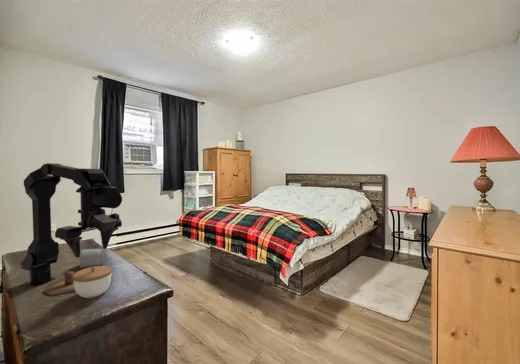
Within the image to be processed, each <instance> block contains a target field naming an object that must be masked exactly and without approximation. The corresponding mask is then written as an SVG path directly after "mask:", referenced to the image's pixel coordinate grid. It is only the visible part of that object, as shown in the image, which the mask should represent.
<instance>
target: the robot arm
mask: <svg viewBox="0 0 520 364" xmlns="http://www.w3.org/2000/svg"><path fill="white" fill-rule="evenodd" d="M62 178H63V179H67V180H71V181H73V183H74V184H75V185H78V186H80V187H79V188H76V190H75V192H76V193H80V209H77V213H78V214H80V221H79V222H77V226H74V225H67V226H62V227H57V228H56V230H55V233H54V238H57V239H60V240H62V241H64V242H65V243H66V244H67V245H68V247H69V248H70V249H71V251H72V253H73V254H74V256H75V257H76V258H78V259H79V258H80V256H81V242H82V239H83V236H81V235H82V233H85V232H89V231H94V230H98V231H99V232H100V240H101V244H102V245H101V246H102V249H103V250H106V249H107V248H108V246H109V242H110V241H111V238H112V235H113V234H114V233H115V232H116V231H117V230H119V228H120V227H122V225H123V222H122V220H121V218H120V214H119V213H112V214H106V210H105V209H117V208H119V207H120V206H121V205H122V201H123V196H122V194H121V193H120V192H119V191H118V190H117V187H116V186H112V184H111V182H110V181H109V179H108V177H107V176H106V174H105V173H104V170H103V169H101V168H78V167H74V166H68V165H64V164H60V163H51V162H49V163H48V162H47V163H46V162H45V163H43V164H42V165H41V166H40V167H39V168H37V169H35V170H34V171H31V172H29V174H28V175H27V176H26V178H25V179H24V180H23V187H24V189H25V190H24V192H25V194H26V195H27V196H28V198H30V199H31V203H32V204H31V205H32V206H31V207H32V208H31V210H32V232H33V233H32V234H33V235H32V238H33V239H32V241H31V243H30V244H29V246H28V247H27V250H26V251H27V252H26V256H25V257H24V258H23V260H22V261H21V262H20V266H21V270H25V271H28V273H29V281H27V282H25V283H24V284H25V285H27V286H32V287H39V286H41V285H44V284H47V283H49V282H52V281H54V280H56V278H55V277H52V270H51V265H53V264H56V263H58V258H59V253H60V250H59V249H60V248H59V246H60V245H59V244H60V243H59V242H57V241H55V240H54V239H53V238H52V218H51V217H52V216H51V215H52V214H51V213H52V212H51V211H52V210H51V209H52V208H51V199H52V197H54V195H55V193H56V191H57V185H59V184H60V182H61V181H62Z"/></svg>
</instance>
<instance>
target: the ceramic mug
mask: <svg viewBox="0 0 520 364" xmlns="http://www.w3.org/2000/svg"><path fill="white" fill-rule="evenodd" d="M79 258H80V259H79V268H80V269H86V268H90V267H93V266H94V267H95V266H103V264H104V249H103V248H91V249H90V248H89V249H82V250H80V257H79Z"/></svg>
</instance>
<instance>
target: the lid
mask: <svg viewBox="0 0 520 364" xmlns="http://www.w3.org/2000/svg"><path fill="white" fill-rule="evenodd" d="M74 274H75V273H74V270H73V271H71V270H70V271H66V272H64V278H62V279H58V280H56V281H54V282H52V283H50V284H49V285H47V286H46V287H45V288H44V289H45V293H44V294H47V295H48V296H49V295H50V296H56V295H62V294H67V293H71V294H73V293H76V291H75V289H74V284H73V275H74ZM72 292H73V293H72Z"/></svg>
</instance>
